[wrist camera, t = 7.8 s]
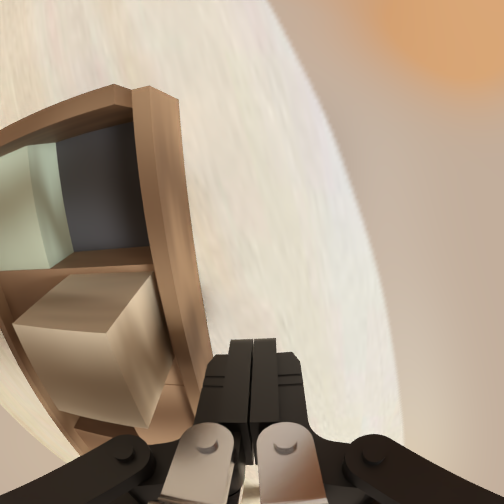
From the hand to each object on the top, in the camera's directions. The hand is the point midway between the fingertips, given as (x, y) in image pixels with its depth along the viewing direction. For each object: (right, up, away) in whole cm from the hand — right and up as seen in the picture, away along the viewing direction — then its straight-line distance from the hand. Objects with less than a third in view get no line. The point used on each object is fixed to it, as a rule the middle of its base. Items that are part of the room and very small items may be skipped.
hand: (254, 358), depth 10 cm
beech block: (-6, +1, +1) cm, 6 cm away
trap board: (-8, -1, +5) cm, 9 cm away
